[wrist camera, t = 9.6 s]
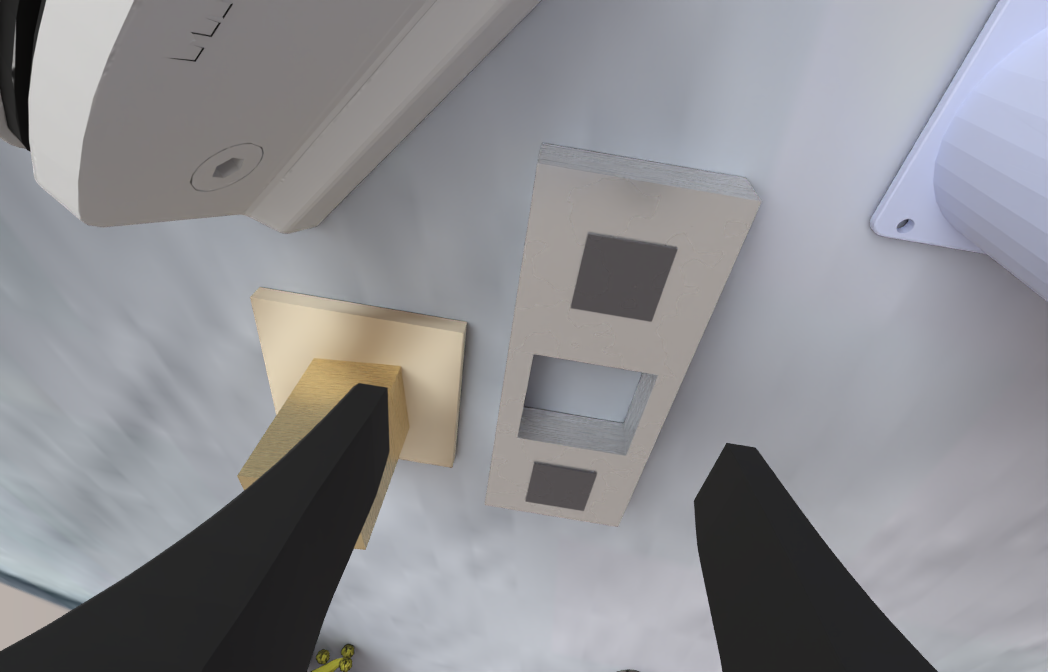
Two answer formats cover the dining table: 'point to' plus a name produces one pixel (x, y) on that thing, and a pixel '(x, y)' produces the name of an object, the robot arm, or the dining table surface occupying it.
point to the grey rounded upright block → (228, 98)
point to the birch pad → (370, 358)
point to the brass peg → (314, 402)
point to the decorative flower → (335, 660)
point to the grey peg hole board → (609, 317)
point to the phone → (628, 671)
